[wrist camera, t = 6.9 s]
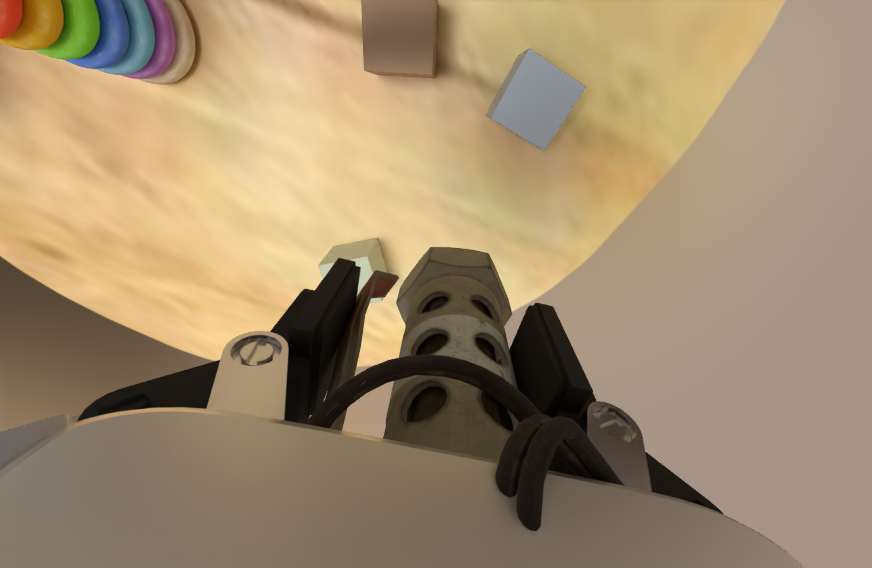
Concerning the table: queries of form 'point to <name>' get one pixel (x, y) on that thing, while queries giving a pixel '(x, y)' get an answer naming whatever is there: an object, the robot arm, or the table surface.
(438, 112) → the table surface
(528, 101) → the slate blue cube
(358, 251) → the sage cube
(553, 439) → the grenade model
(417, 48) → the walnut cube
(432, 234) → the table surface
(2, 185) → the table surface
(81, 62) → the stacking toy
